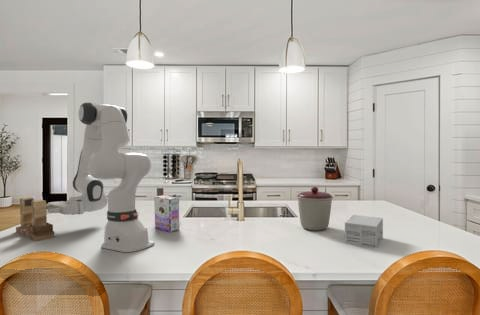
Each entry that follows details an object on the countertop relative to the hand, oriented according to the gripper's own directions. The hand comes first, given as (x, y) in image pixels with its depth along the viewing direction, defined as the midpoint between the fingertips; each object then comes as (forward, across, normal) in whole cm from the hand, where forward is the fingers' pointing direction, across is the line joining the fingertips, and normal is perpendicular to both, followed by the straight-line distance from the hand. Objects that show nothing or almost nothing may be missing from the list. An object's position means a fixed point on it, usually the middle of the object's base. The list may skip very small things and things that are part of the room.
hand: (44, 210), depth 147 cm
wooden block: (-56, +19, +12) cm, 60 cm away
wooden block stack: (+2, -6, +12) cm, 14 cm away
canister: (-88, +97, +12) cm, 131 cm away
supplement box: (-81, +122, +12) cm, 148 cm away
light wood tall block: (+2, 0, +9) cm, 10 cm away
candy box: (-42, +37, +12) cm, 57 cm away
